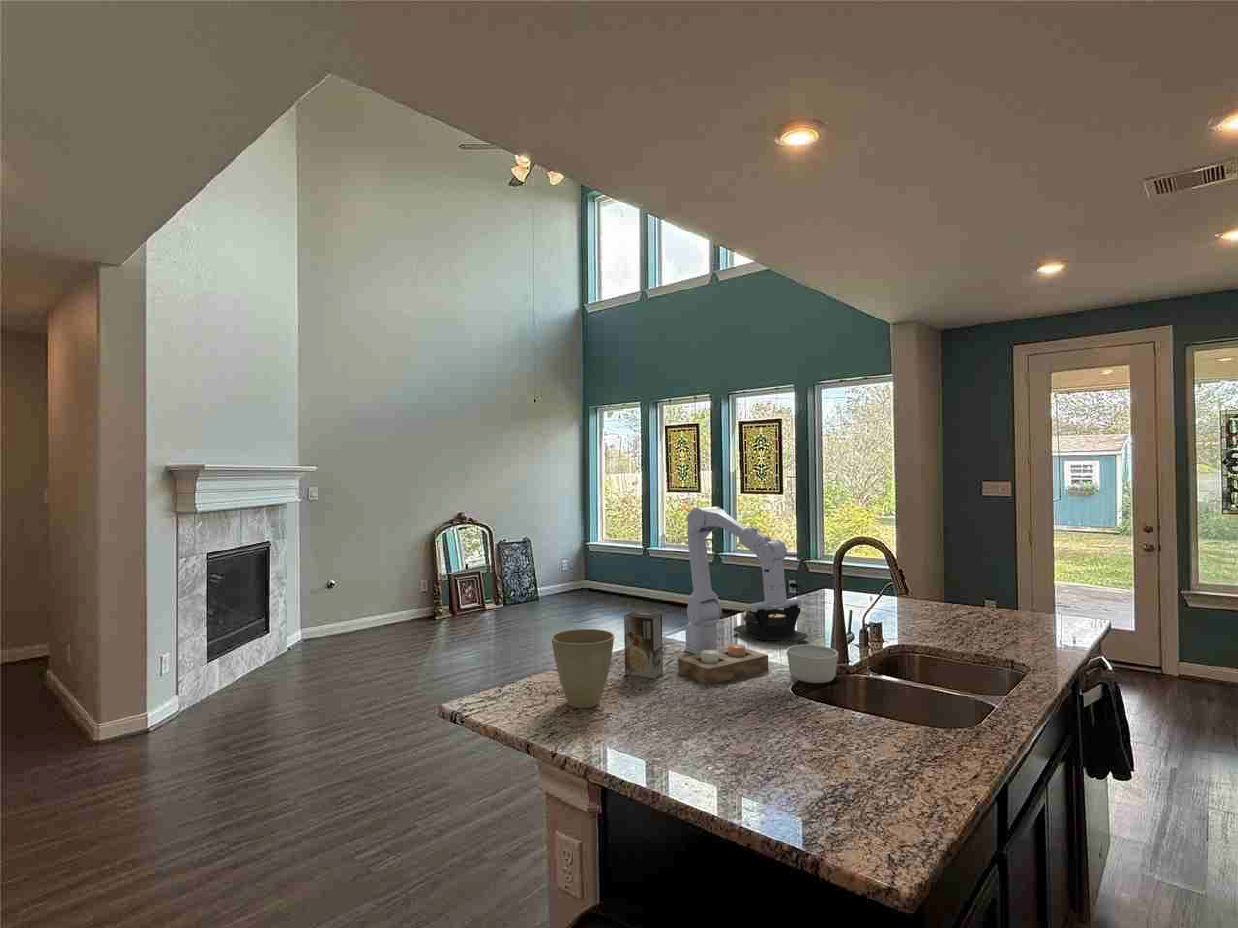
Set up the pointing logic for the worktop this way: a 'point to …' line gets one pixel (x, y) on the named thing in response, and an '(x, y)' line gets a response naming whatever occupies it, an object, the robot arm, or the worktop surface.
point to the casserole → (775, 626)
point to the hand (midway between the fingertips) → (778, 636)
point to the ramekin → (812, 663)
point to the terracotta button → (736, 650)
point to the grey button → (709, 656)
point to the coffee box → (643, 644)
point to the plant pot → (583, 664)
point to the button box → (722, 666)
